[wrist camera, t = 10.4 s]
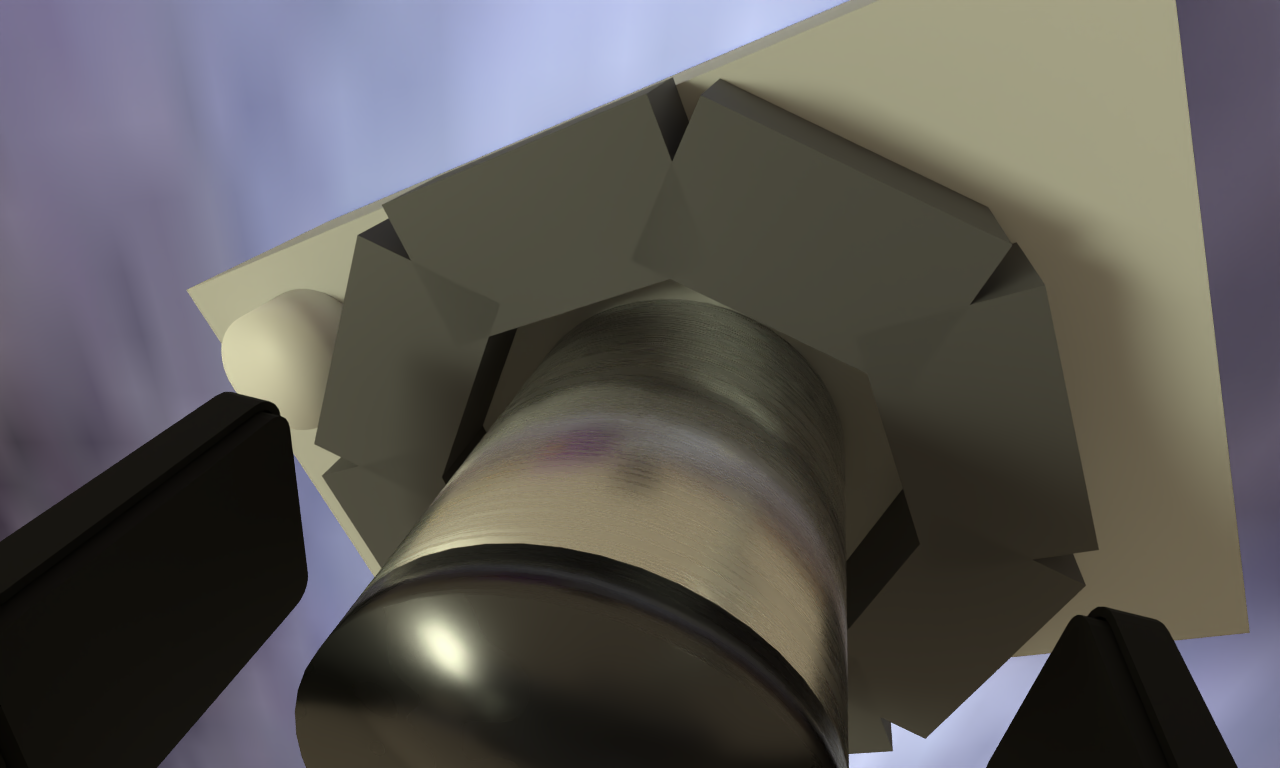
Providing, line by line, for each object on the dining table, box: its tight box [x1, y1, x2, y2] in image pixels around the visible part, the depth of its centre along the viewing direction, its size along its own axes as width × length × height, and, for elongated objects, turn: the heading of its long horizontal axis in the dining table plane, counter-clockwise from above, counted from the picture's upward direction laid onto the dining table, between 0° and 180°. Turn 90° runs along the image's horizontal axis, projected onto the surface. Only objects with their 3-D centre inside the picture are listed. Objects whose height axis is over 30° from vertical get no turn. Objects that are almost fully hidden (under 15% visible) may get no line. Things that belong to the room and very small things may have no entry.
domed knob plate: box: [187, 0, 1250, 754], centre depth 13 cm, size 14×10×6 cm
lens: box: [295, 299, 849, 768], centre depth 9 cm, size 5×5×6 cm
